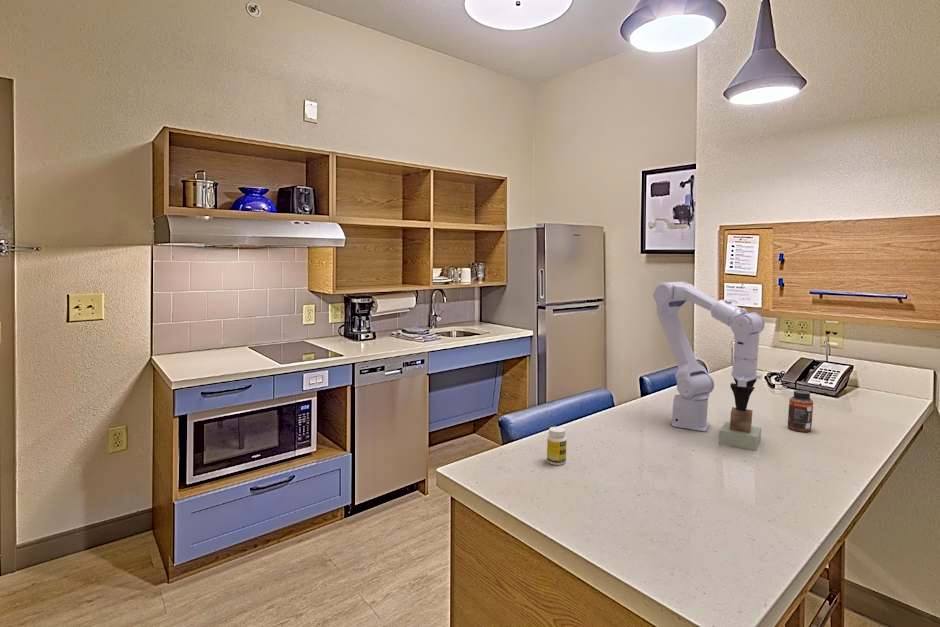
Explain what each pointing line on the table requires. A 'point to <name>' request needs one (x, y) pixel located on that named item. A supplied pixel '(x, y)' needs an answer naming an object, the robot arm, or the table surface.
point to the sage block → (740, 437)
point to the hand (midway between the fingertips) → (742, 406)
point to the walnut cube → (741, 420)
